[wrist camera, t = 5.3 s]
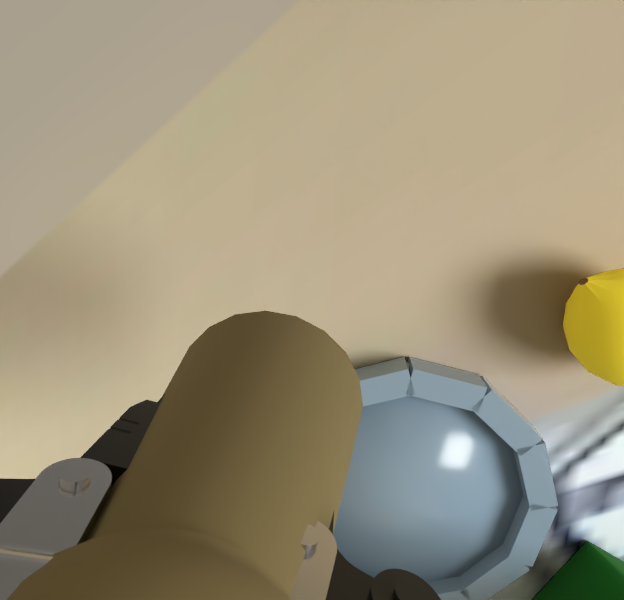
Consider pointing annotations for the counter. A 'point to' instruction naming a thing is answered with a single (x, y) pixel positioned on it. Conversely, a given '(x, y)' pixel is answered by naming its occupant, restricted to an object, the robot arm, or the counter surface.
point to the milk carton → (587, 577)
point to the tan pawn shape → (223, 473)
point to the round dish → (444, 481)
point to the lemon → (598, 325)
